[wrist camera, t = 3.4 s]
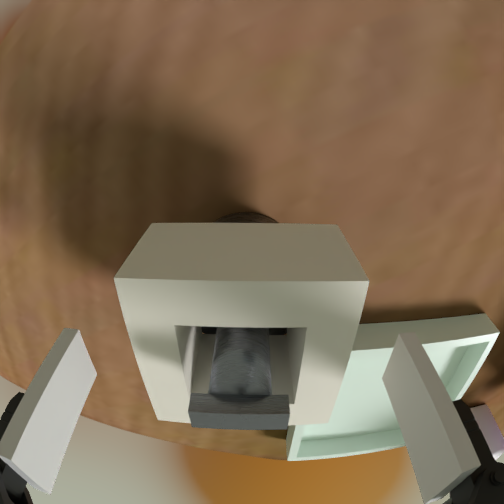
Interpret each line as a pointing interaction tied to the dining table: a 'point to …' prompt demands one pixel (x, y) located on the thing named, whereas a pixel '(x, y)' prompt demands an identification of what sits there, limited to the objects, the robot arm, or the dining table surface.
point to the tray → (373, 389)
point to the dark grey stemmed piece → (240, 373)
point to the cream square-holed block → (242, 308)
